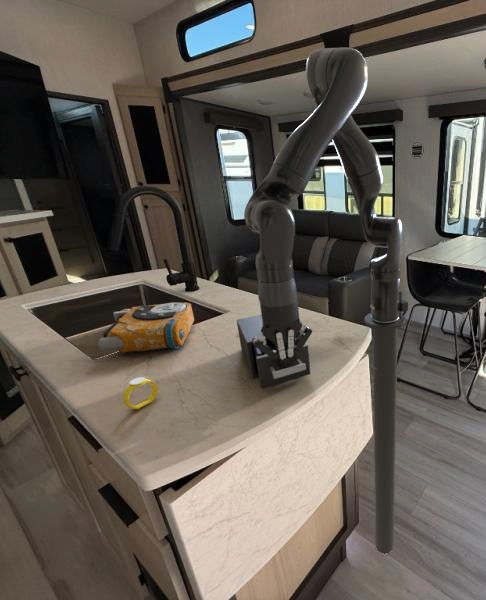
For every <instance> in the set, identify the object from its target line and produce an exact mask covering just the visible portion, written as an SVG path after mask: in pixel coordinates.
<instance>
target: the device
mask: <svg viewBox="0 0 486 600" xmlns="http://www.w3.org/2000/svg"><path fill="white" fill-rule="evenodd" d="M113 317H114V320H115V322H113V324H111V325H110V326H109V327H108V328H107V329H106V330H105V331H104V332H103V333H102V335H103V336H102V337H101V338H100V339H99V340H98V349H99V350H100V351H111V350H116V351H118V352H120V353H131V352H145V351H153V350H161V349H171V350H177V349H179V348H180V347H182V345H183V344H184V342H185V340H186V339H187V337H188V334H189V333H190V331H191V328H192V325H193V324H194V322H195V317H194V312H193V308H192V304H191V303H190V302H167V303H160V304H150V305H140V306H139V305H138V306H132V307H131V308H124V309H122V310H120V311H113Z"/></svg>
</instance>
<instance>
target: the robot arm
mask: <svg viewBox="0 0 486 600" xmlns="http://www.w3.org/2000/svg"><path fill="white" fill-rule="evenodd" d="M305 65H306V66H305V72H306V73H305V74H306V80H307V85H308V87H309V91H310V93H311V96H312V98H313V100H314V102H315V104H316V106H317V108H315V110H314V111H313V113H311V114H310V115H309V116H308V118H307V119H305V120H304V121H303V122H302V123H301V124H300V125H299V126H298V127H297V128H296V129H295V130H293V132H291V134H290V135H289V136H288V137H287V138H286V139H285V141H284V143H283V145H281V148H280V150H279V152H278V153H277V155H276V158H274V159H275V160H274V162H273V163H272V166H271V168H270V170H269V172H268V173H267V174H266V176H265V178H264V179H263V180H262V181H261V182H260V183H259V184H258V187H257V188H256V189H255V191H254V192H253V193H252V194H251V196H250V198H249V199H248V201H247V203H246V205H245V207H244V214H243V218H244V222H245V225H246V226H247V228H248V229H249V230H250V231H252V232H253V233H254V234H257V235H259V244H260V245H259V246H260V247H259V249H260V250H258V251H257V252H256V253H255V259H254V260H255V261H254V262H255V270H256V275H257V293H258V295H257V297H258V301H259V307H260V315H262V321H263V326H262V329H261V332H262V333H261V334H260V335H259V336H258V337H254V338H253V339H252V341H253V343H254V345H255V347H257V348H258V349H260V350H261V351H262V352H264V353H265V354H267V355H268V356H269V357H271V358H272V359H276V358H279V366H280V368H281V370H282V369H286V368H289V367H292V366H294V362H293V355H294V354H295V353H296V352H297V353H299V352H300V351H301V349H302V348H303V346H304V345H305V344H307V341H308V340H309V338H310V337H311V335H312V334H313V330H312V329H311V327H310V326H308V325H304V324H303V322H302V320H301V319H300V312H299V311H300V310H299V301H298V290H297V284H296V280H295V274H294V273H295V272H294V263H293V258H292V257H293V251H294V247H295V238H296V237H295V236H296V222H295V216H294V213H293V211H292V209H291V207H290V205H289V204H290V203H291V201H292V200H293V199H295V198H298V197H300V196H301V195H302V194H303V193H304V191H305V190H306V188H307V186H308V184H309V182H310V180H311V178H312V176H313V174H314V172H315V169H316V167H317V166H318V163H319V162H320V160H321V158H322V156H323V155H324V153H325V151H326V150H327V148H328V147H329V146H330V144H331V143H333V144H334V145H333V146H334V147H335V149H336V152H337V155H338V158H339V160H340V163H341V166H342V169H343V172H344V176H345V178H346V181H347V183H348V186H349V188H350V191H351V193H352V196H353V199H354V202H355V205H356V209H357V211H358V214H359V219H360V223H361V226H362V230H363V234H364V235H363V236H364V238H365V240H366V242H367V244H368V245H370V246H371V247H375V248H384V249H385V248H386V249H387V250H386V254H384V255H381V256H378V257H374V258H373V259H372V260H371V261H370V302H371V304H369V307H370V310H371V311H370V313H371V319H372V321H374V322H376V323H380V324H391V323H395V322H397V321H398V320H399V319H401V316H402V315H403V316H405V315H406V313H407V312H408V311H409V301H406V300H405V299H403V292H402V291H401V290H400V289H401V288H400V285H401V284H400V283H401V280H400V279H401V273H400V272H401V259H402V245H403V244H402V243H403V222H402V220H401V219H400V218H399V217H397V216H380V215H378V214H377V213H376V210H375V204H376V201H377V199H378V197H379V195H380V193H381V190H382V188H383V184H384V174H383V169H382V166H381V165H382V164H381V161H380V158H379V154H378V152H377V150H376V148H375V146H374V145H373V144H372V143H371V141H370V140H369V138H368V137H367V135H366V134H364V132H363V131H362V130H361V128H360V127H359V126H358V124H357V123H356V121H355V120H354V118H353V115H352V114H353V112H354V111H355V110H356V109H357V107H358V105H359V104H360V102H361V101H362V99H363V97H364V95H365V93H366V91H367V88H368V83H369V69H368V65H367V62H366V59H365V58H364V55H363V54H362V53H361V51H358V50H357V49H355V48H352V47H325V48H318V49H314V50H313V51H311V52H310V53H309V55H308V56H307V59H306V64H305ZM298 333H300V334H299V336H298V337H297V339H296V340H295V342H294V339H295V338H296V336H297V335H298ZM265 337H266V338H267V339H268V340H269V341H271V342H272V343H273V344H275V346H276V349H277V350H273V349H272V348H270V347H269V346H268V345H266V340H265ZM284 344H285V348H284Z"/></svg>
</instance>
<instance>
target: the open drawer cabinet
mask: <svg viewBox="0 0 486 600" xmlns="http://www.w3.org/2000/svg"><path fill="white" fill-rule="evenodd" d="M296 339H297V337H296V338H295V339H294V342H295V340H296ZM266 345H268V346H269V347H270V348H271V347H275V344H273V343H272V342H271V341H266ZM251 347H252V353H253V359H254V364H255V367H256V369H257V371H258V373H259V376H258V378H259V386H260V389H261V390H265V389H267V388H270V387H274V386H277V385H280V384H283V383H287V382H290V381H293V380H296V379H299V378H303V377H305V376H309V375H311V367H310V366H311V365H310V364H311V363H310V353H309V346H308V344H307V343H305V345H304V346H303V348H302V349H301V351H300V352H299V353H297V352H296V353H295V354H294V355H293V362H294V366H292V367H289V368H286V369H282V370H281V368H280V366H279V358H276V359H272V358H271V357H269V356H268V355H267V354H265V353H264V352H262V351H261V350H260V349H258V348H257V347H255V345H254V344H252V345H251Z"/></svg>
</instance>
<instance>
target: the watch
mask: <svg viewBox="0 0 486 600" xmlns="http://www.w3.org/2000/svg"><path fill="white" fill-rule="evenodd" d="M146 383H148V384H150V386H151V393H150V395H149V397H147V399H146V400H144V401H142V402H140V403H138V404H136V405H132V403H131V402H130V395H131V393H132V391H134V389H136V388H139V387H141V386H144V385H146ZM158 391H159V390H158V385H157V383H155V382H154V381H153V380H150V379H148V378H146V377H144V376H142V377H141V376H140V377H136V378H133V379H131V380H130V381H129V385H128V386H127V388H125V390H124V393H123V396H122V400H123V404H124V405H125V406H126V407H127V408H129V409H132V410H140V409H141V408H143V407H145V406H147V405H149V404H151V403H153V402H154V401H155V398H156V397H157V395H158Z"/></svg>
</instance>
